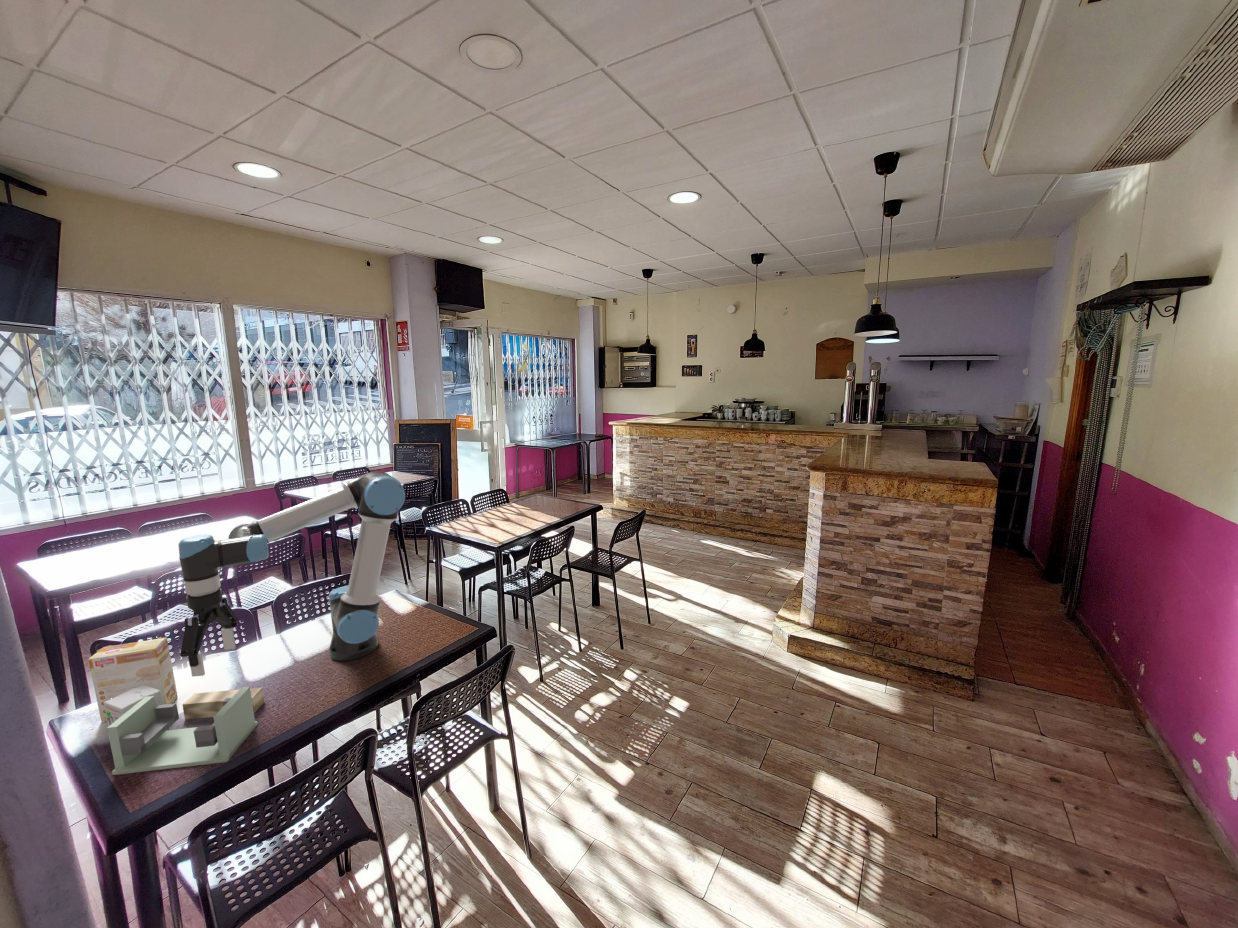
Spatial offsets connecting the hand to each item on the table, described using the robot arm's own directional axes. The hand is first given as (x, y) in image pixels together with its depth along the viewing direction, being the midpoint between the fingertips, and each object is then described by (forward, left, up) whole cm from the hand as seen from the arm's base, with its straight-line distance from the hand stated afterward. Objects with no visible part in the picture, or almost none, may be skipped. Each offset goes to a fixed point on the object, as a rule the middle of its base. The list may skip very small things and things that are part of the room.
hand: (215, 661), depth 142 cm
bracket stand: (-1, +16, -15) cm, 22 cm away
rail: (-1, +1, -15) cm, 15 cm away
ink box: (+16, +8, -15) cm, 23 cm away
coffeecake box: (+24, -4, -15) cm, 29 cm away
